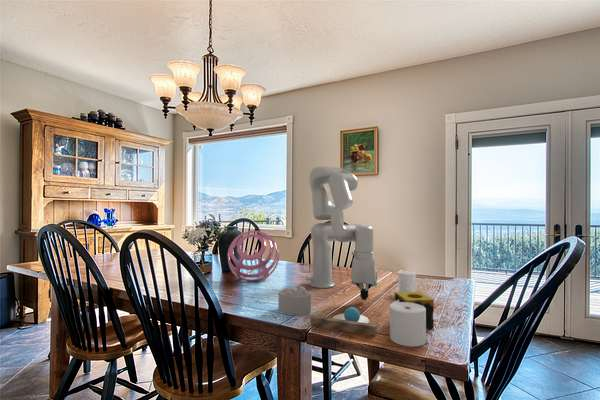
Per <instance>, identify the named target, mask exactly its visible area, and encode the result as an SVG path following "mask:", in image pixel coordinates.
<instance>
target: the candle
mask: <svg viewBox="0 0 600 400" xmlns="http://www.w3.org/2000/svg"><path fill="white" fill-rule="evenodd" d="M396 300H399V302H409V303H415V304H419V305H422V306H424V307H425V308H426V330H431V329H434V328H435V326H434V325H435V324H434V323H435V321H434V308H435V305H434V303H435V301H434V300H435V299H434V298H432V297H430V296H429V295H427V294H425V293H423V292H422V291H415V292H399V291H395V292H394V301H396Z"/></svg>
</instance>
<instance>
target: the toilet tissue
mask: <svg viewBox="0 0 600 400" xmlns="http://www.w3.org/2000/svg"><path fill="white" fill-rule="evenodd" d="M390 338H391V339H390ZM389 339H390V341H392V342H393V343H395V344H398V345H401V346H404V347H420V346H423V345H426V343H427V329H426V308H425V307H424V306H422V305H419V304H415V303H409V302H399V300H396V301H395V300H394V301H392V302H391V303H390V305H389Z"/></svg>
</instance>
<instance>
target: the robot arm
mask: <svg viewBox="0 0 600 400" xmlns="http://www.w3.org/2000/svg"><path fill="white" fill-rule="evenodd" d="M308 181H309V182H308V183H309V187H310V191H311V201H312V215H313V218H314V219H315V220H317V221H330V222H318V223H314V224H313V226H311V228H310V236H311V242H312V269H313V270H312V275H306V276H305V279H306V281H310V282H309V285H310V286H311V287H313V288H317V289H329V288H334V287H335V286H336V283H335V282H334V281H333V271H332V269H333V266H332V265H333V263H332V261H333V258H332V255H333V254H332V253H333V251H332V248H331V246H330V244H329V242H336V241H338V242H339V243H350V242H353V243H354V251H352V252H351V255H352V256H354V258H352V263H351V273H350V275H351V278H350V279H351V285H354V286H356V287H358V289H359V291H360V292H359V293H360V295H359V296H360V298H361V300H362V301H363V300H364V301H367V300H368V299H369V290H370V289H371V288H372V287H373V288H374V287H378V282H377V281H378V273H377V272H378V271H377V262H376V259H375V258H374V228H373V227H372V226H370V225H362V224H356V223H354V224H345V220H344V210H346V209H348V208H349V207H351V206H352V205H353V204H354V200H353V199H354V198H353V197H352V194H351V192H353V191H356V189H357V188H358V186H359V185H358V183H359V182H358V178H357V177H356V176H355V174H353V173H352V172H351V171H348V170H346V169H345V168H343V167H338V166H337V167H335V166H317V167H316V166H315V167H313V168H312V169H311V170H310V172H309V178H308ZM324 184H325V185H327V184H328V187H329V189H330V193H331V197H332V200H333V201H330V197H329V196H330V194H329V190H328V189H327V187H326V186H325V185H324ZM364 284H365V286H364ZM367 298H368V299H367Z"/></svg>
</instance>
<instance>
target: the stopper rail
mask: <svg viewBox="0 0 600 400" xmlns="http://www.w3.org/2000/svg"><path fill="white" fill-rule="evenodd" d="M310 327H315V328H319V329H325V330H326V329H327V330H332V331H340V332H345V333H351V334H357V333H359V334H358V335H363V334H366V335H365V336H369V335H373V336H372V337H376V336H377V333H378V332H377V327H378V326H377V324H373V323H361V322H354V321H347V320H341V319H334V318H333V317H332V318H331V317H325V316H318V315H312V316H311V317H310ZM375 335H376V336H375Z"/></svg>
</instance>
